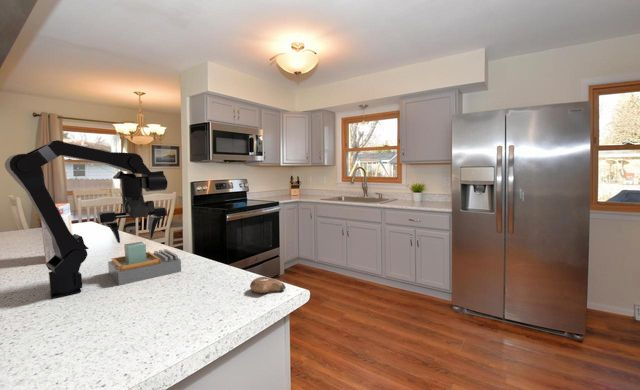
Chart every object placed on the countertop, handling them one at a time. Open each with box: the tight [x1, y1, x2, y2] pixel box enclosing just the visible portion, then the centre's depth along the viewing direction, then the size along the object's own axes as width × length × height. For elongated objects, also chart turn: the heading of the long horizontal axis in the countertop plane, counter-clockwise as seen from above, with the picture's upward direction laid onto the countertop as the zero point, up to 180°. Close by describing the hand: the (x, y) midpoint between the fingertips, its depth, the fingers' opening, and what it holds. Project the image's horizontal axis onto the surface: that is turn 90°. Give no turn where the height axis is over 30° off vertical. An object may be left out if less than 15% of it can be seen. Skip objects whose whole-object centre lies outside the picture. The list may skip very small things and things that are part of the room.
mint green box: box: [123, 241, 147, 265], centre depth 103 cm, size 5×7×6 cm
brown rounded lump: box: [249, 276, 286, 294], centre depth 87 cm, size 9×4×8 cm
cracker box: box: [40, 202, 74, 264], centre depth 121 cm, size 14×6×21 cm, turn 25°
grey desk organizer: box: [107, 248, 182, 286], centre depth 104 cm, size 18×15×5 cm
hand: (135, 240), depth 101 cm, fingers open, 9 cm apart
